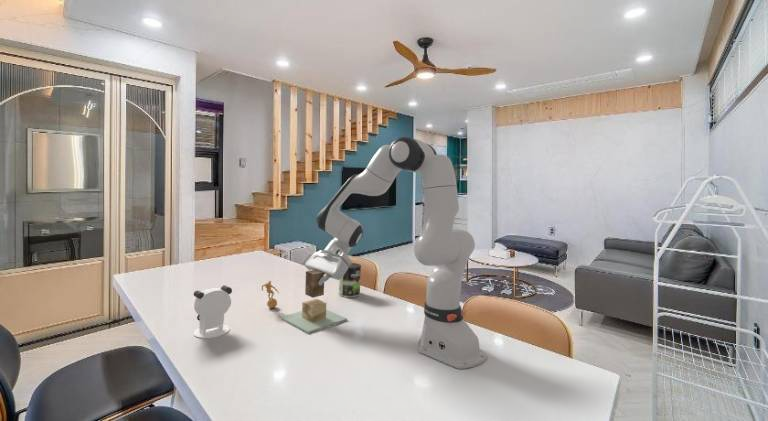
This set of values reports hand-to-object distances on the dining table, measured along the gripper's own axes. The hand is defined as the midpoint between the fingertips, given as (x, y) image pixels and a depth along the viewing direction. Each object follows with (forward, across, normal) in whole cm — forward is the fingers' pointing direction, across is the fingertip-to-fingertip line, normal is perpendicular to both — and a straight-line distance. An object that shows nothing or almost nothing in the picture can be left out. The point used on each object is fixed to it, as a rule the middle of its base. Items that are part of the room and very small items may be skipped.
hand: (313, 282), depth 134 cm
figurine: (+15, -21, +7) cm, 27 cm away
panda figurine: (+33, -15, -12) cm, 38 cm away
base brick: (+9, 0, +10) cm, 14 cm away
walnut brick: (+3, 0, +4) cm, 5 cm away
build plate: (+10, 0, +11) cm, 15 cm away
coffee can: (-12, -15, +33) cm, 38 cm away
